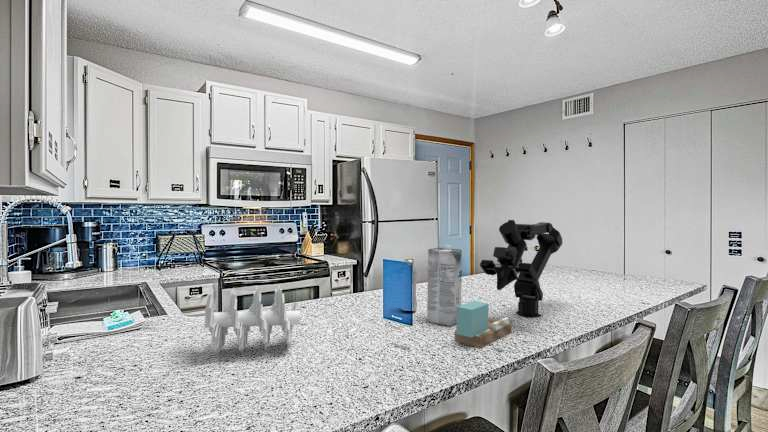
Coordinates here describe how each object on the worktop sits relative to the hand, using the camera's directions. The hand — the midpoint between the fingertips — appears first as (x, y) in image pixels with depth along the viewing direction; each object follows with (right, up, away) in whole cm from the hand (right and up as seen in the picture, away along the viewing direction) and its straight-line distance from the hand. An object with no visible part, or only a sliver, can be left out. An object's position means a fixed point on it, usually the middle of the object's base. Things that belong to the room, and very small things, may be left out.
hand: (498, 289), depth 132 cm
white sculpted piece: (-75, -13, -21) cm, 79 cm away
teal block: (-12, -10, -13) cm, 21 cm away
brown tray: (-7, -13, -8) cm, 17 cm away
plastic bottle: (-29, -12, +20) cm, 37 cm away
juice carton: (-17, -13, +6) cm, 22 cm away
